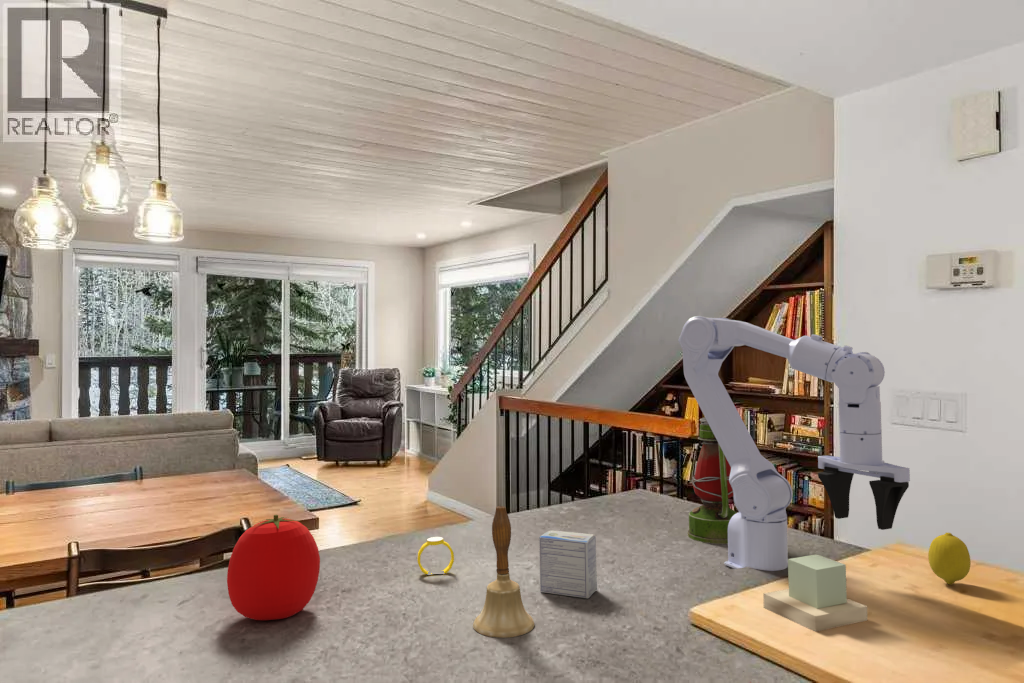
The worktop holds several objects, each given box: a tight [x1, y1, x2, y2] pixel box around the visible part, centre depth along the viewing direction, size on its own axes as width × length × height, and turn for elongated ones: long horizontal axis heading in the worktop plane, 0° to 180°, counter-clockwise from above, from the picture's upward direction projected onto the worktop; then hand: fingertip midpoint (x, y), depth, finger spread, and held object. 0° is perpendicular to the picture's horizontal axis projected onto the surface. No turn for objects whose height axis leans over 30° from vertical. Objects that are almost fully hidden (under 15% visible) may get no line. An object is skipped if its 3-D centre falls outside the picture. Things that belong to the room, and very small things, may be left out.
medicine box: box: [538, 529, 598, 599], centre depth 106 cm, size 8×4×9 cm, turn 65°
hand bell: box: [472, 505, 535, 639], centre depth 93 cm, size 8×8×16 cm
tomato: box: [226, 514, 321, 621], centre depth 98 cm, size 13×11×14 cm
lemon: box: [927, 532, 972, 585], centre depth 107 cm, size 6×6×8 cm
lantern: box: [687, 416, 738, 545], centre depth 137 cm, size 14×11×30 cm
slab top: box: [763, 588, 868, 633], centre depth 92 cm, size 9×9×2 cm
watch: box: [416, 536, 455, 575], centre depth 115 cm, size 6×3×6 cm, turn 102°
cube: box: [787, 553, 848, 609], centre depth 92 cm, size 5×5×5 cm
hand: (862, 523), depth 104 cm, fingers open, 7 cm apart
